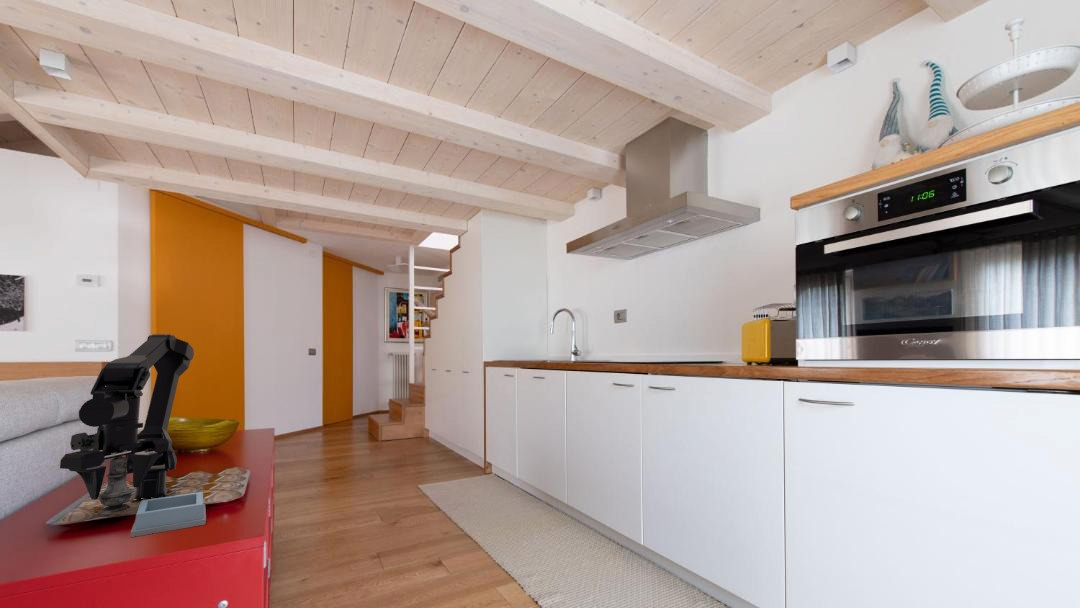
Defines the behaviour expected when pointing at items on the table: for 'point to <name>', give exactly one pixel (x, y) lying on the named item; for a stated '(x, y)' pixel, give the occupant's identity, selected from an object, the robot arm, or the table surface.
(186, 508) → the holder
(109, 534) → the table surface
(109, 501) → the grey stone tall figure
